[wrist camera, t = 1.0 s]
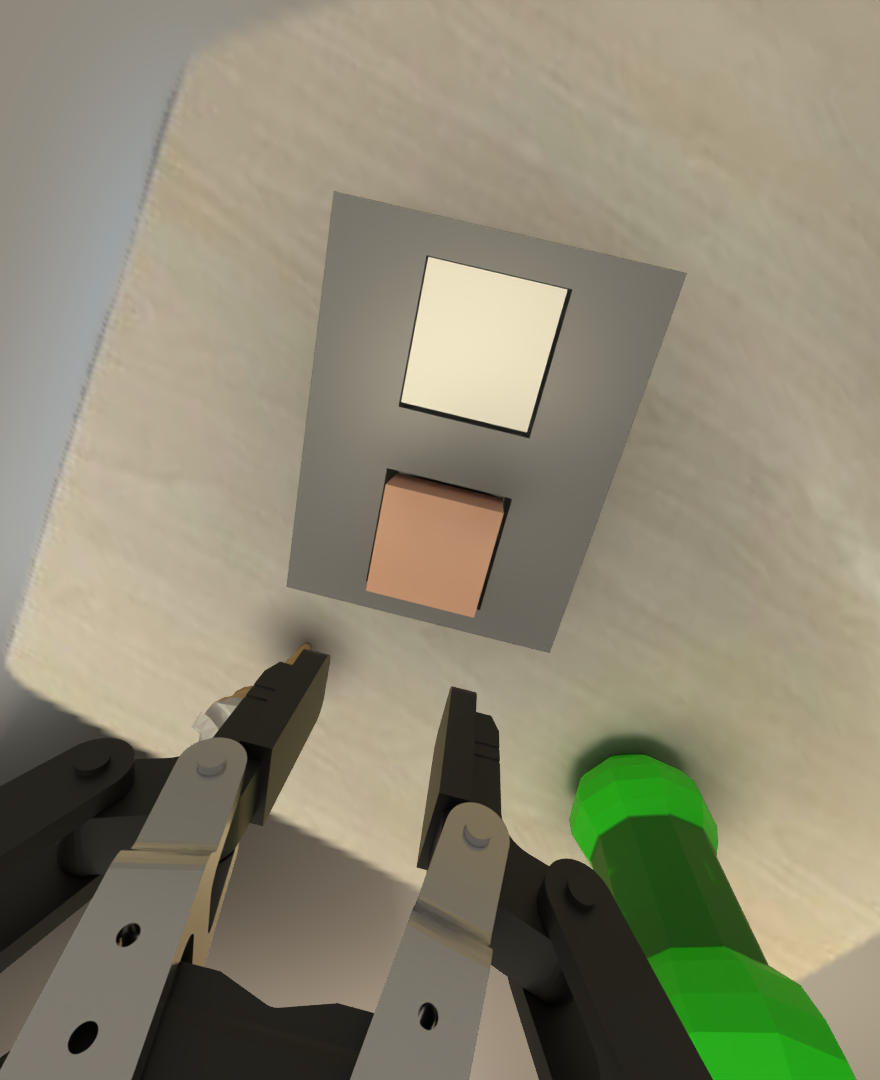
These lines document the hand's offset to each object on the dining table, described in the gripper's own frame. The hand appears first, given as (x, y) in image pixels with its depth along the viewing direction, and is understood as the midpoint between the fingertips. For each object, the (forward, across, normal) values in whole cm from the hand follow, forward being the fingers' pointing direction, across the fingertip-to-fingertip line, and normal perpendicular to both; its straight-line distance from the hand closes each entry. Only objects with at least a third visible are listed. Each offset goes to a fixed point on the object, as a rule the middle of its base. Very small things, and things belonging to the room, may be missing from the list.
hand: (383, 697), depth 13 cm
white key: (+14, 0, -10) cm, 18 cm away
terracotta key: (+14, 0, 0) cm, 14 cm away
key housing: (+19, 0, -5) cm, 20 cm away
